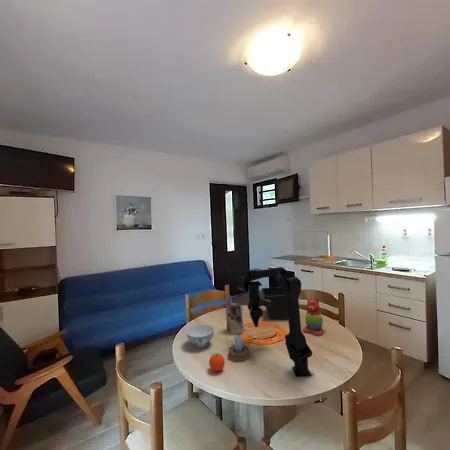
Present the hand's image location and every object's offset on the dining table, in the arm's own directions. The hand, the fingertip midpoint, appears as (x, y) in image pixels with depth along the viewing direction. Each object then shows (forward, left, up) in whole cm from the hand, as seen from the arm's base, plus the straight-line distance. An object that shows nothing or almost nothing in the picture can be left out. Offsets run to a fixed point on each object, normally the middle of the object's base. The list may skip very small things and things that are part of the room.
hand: (255, 323), depth 133 cm
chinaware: (+4, +29, -12) cm, 32 cm away
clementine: (-19, +20, -12) cm, 30 cm away
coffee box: (+18, +10, -12) cm, 24 cm away
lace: (+4, +13, -12) cm, 18 cm away
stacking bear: (+14, -35, -12) cm, 40 cm away
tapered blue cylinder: (-9, +9, -12) cm, 17 cm away
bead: (-9, +9, -12) cm, 17 cm away
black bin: (+39, -19, -12) cm, 45 cm away
